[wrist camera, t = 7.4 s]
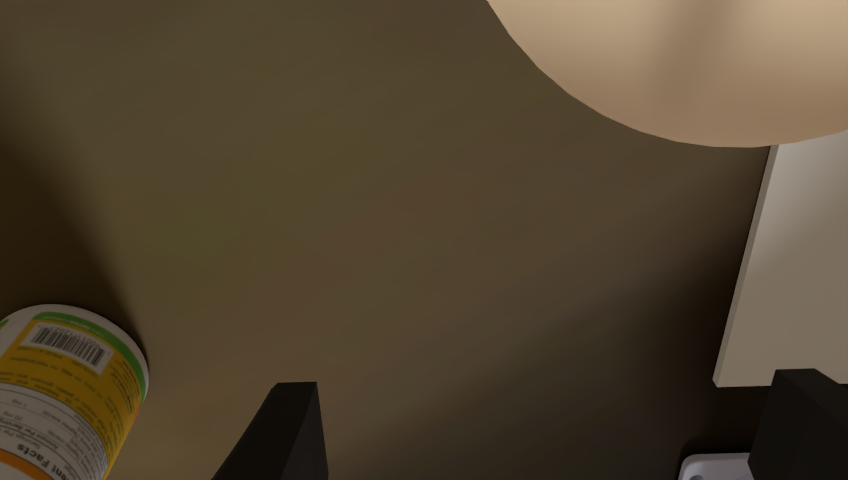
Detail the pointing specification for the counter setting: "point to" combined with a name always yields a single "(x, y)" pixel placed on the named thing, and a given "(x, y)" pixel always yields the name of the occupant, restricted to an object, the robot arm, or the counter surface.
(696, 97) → the lid
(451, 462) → the counter surface
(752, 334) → the mat
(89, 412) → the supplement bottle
